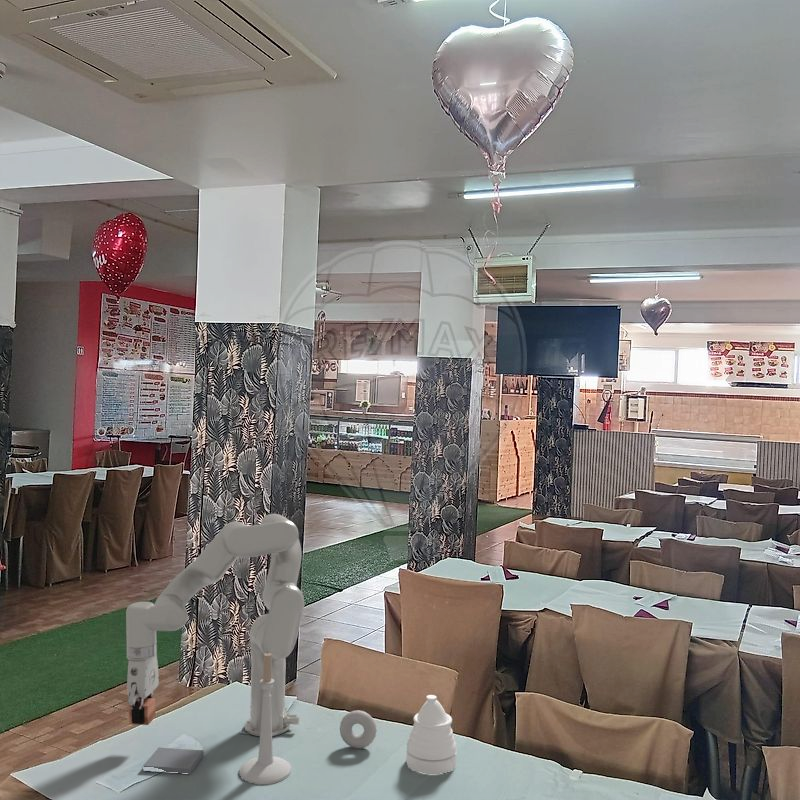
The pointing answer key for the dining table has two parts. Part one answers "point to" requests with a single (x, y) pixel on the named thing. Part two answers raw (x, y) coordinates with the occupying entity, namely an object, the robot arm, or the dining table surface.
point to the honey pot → (431, 740)
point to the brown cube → (145, 711)
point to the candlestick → (266, 741)
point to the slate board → (174, 759)
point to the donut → (349, 735)
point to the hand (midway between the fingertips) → (142, 717)
